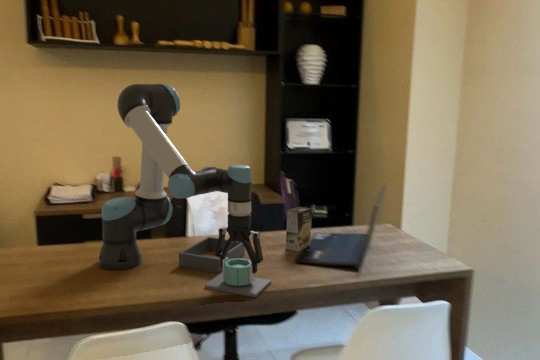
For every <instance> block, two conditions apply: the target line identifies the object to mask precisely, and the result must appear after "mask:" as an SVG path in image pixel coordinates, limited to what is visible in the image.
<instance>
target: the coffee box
mask: <svg viewBox="0 0 540 360" xmlns="http://www.w3.org/2000/svg"><path fill="white" fill-rule="evenodd" d="M312 214H313V209H312V208H309V207H303V206H297V207H294V208H291V209H287V211H286V229H285V230H286V233H285V235H286V236H285V237H286V238H285V249H286V250H289V251H293V252H301V251H303V250H305V249H304V248H306V247H307V246H308V245H310V246H311V238H312V232H311V231H312ZM306 249H307V248H306Z"/></svg>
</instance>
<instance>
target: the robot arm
mask: <svg viewBox="0 0 540 360" xmlns="http://www.w3.org/2000/svg"><path fill="white" fill-rule="evenodd" d="M117 98H118V99H117V112H118V115H119V117H120V118H121V120H122V122H123V123H124V125H125V126H126V127H128V128H131V129H132V130H133V132H134V133H135V134H136V136H137V137H138V138H139V140H140V141H141V142H142V143H141V144H142V145H141V160H140V161H141V163H140V179H139V187H138V189H136V191H135V193H134V194H135V195H134V197H131V196H122V197H115V198H111V199H109V200H107V201H105V202H104V203H103V205H102V207H101V224H102V225H101V227H102V246H101V248H100V249H101V250H100V252H99V256H98V266H99V267H100V268H103V269H104V270H105V269H106V270H112V271H113V270H114V271H115V270H116V271H117V270H121V271H122V270H129V269H131V268H135V267H138V266H139V265H141V263H142V262H143V258H142V257H143V256H142V253H141V251H140V248H139V245H138V242H137V232H141V231H144V230H149V229H152V228H158V227H160V226H163V225H165V224H167V223H168V222H169V221H170V219H171V217H172V214H173V204H172V203H171V202H172V200H171V199H170V197H169V196H168V194H167V192H166V191H165V189H164V184H165V183H164V182H165V175H166V176H167V178H168V182H167V189H168V192H169V194H170V196H172V197H173V198H175V199H188V198H189V199H190V198H191V197H195V196H200V195H205V194H210V193H216V192H218V193H219V192H220V193H225V194H227V213H228V214H227V227H226V226H222V227H219V228H218V237H217V238H218V243H217V247H216V251H214V256H215V257H217V258H220V267H221V268H223V270H222V272H223V279H224V262H226V261H227V260H228V257H226V255H227V253H228V252H229V250H230V248H231V246H232V244H233V242H234V241H235V242H236V241H238V242H242V243H243V245H244V246H245V252H246V253H247V256H248V258H249V260H250V261H251V262H252V263H250V264H249V266H250V271H249V283H253V282H254V281H255V276H256V274H257V272H258V264H260V263H262V262H263V261H264V256H263V251H262V246H261V240H260V235H261V233H260V231H254V230H252V227H251V226H252V225H251V224H252V215H251V213H252V184H253V183H252V181H253V177H252V168H251V167H250V166H249V165H245V164H231V165H229V166H228V168H227V169H225V168H219V167H216V166H205V167H203V168H202V169H201V170H197V171H194V170H193V168H192V167H190V165H189V164H188V162H187V161H186V160H185V159H184V157H183V156H182V154H181V153H180V152H179V151H178V149H177V148H176V147H175V145H174V144H173V143H172V141H171V140H170V138H169V137H168V128H169V127H170V126H171V125H172V124H173V117H175V116H177V115H178V113H179V112H180V109H181V100H180V99H181V98H180V96H179V94H178V92H177V90H176V89H175V88H174V87H173V86H171V85H169V84H165V83H164V84H163V83H134V84H133V83H132V84H130V85H128V86H125V88H124V89H122V91H121V92H120V93H119V95H118V97H117ZM227 234H228V236H229V237H228V238H227V240H228V241H227V244H226V245H225V247H224V249H223V251H222V248H223V244H224V240H225V239H226V235H227ZM250 236H251V239H252V241H251V239H250ZM252 244H253V245H252Z"/></svg>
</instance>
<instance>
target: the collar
mask: <svg viewBox="0 0 540 360" xmlns="http://www.w3.org/2000/svg"><path fill="white" fill-rule="evenodd" d="M250 263H252V262H251V260H250V259H248V258H242V257H241V258H236V259H228V260H227V261H226V262H224V281H225V282H226V283H227V284H229V285H235V286H241V285H248V284H250V283H249V271H250V266H249V264H250ZM235 264H243V265H245V266H242V267H235V266H232V265H235Z"/></svg>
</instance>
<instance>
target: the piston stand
mask: <svg viewBox="0 0 540 360" xmlns="http://www.w3.org/2000/svg"><path fill="white" fill-rule="evenodd" d="M232 266H235V267H242V266H245V265H243V264H235V265H232ZM271 284H272V280H271V279H267V278H260V277H255V281H254V282H253V283H250V284H248V285H241V286H235V285H229V284H227V283H226V282H225V281H224V279H223V271H221V272H220V274H219V273H218V275H217V276H215V277H214V278H212V279H211V280H209V281H208V282H207V283H206V284H205V285H204V288H205V289H209V290H213V291H221V292H226V293H232V294H236V295H241V296H246V297H250V298H251V297H252V298H257V297H258V296H259V295H260V294H261V293H263V291H264V290H265V289H266V288H267V287H269V285H271Z"/></svg>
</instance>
